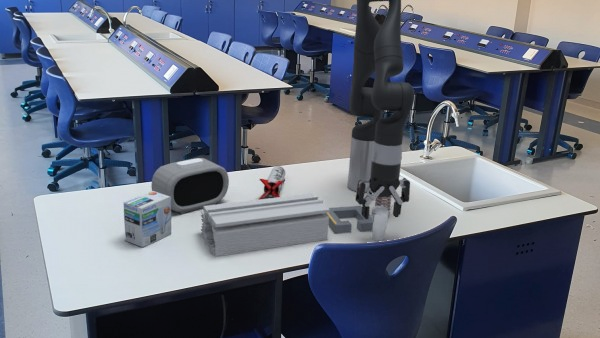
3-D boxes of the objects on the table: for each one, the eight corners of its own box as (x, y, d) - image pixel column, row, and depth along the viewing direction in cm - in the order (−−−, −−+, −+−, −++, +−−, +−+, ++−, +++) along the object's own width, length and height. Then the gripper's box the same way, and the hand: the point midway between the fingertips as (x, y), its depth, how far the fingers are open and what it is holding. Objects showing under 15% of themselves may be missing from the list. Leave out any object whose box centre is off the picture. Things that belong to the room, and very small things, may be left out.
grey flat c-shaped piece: (321, 215, 175) (322, 207, 175) (360, 213, 179) (361, 204, 178) (334, 233, 165) (335, 224, 164) (375, 230, 168) (376, 221, 167)
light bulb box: (142, 248, 151) (141, 208, 148) (124, 241, 154) (121, 202, 151) (172, 233, 160) (172, 195, 156) (154, 227, 163) (153, 190, 159)
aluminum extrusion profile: (200, 234, 161) (200, 199, 158) (305, 220, 173) (307, 187, 170) (216, 258, 149) (216, 220, 145) (327, 241, 161) (329, 206, 158)
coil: (391, 213, 180) (397, 156, 174) (386, 219, 176) (393, 160, 170) (376, 210, 181) (382, 153, 175) (371, 215, 177) (377, 157, 171)
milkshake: (388, 243, 160) (392, 208, 157) (368, 240, 161) (371, 206, 158) (389, 236, 165) (393, 202, 161) (370, 233, 166) (373, 199, 162)
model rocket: (300, 172, 204) (281, 150, 203) (294, 193, 182) (273, 168, 180) (276, 191, 207) (257, 169, 205) (267, 214, 184) (246, 189, 183)
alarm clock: (168, 218, 169) (167, 173, 164) (152, 207, 175) (150, 163, 171) (229, 202, 182) (229, 160, 177) (211, 192, 188) (211, 151, 184)
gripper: (405, 154, 161) (399, 210, 166) (355, 155, 157) (350, 213, 162) (418, 162, 154) (411, 221, 159) (365, 164, 150) (360, 224, 155)
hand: (380, 217), depth 161 cm, fingers open, 8 cm apart
